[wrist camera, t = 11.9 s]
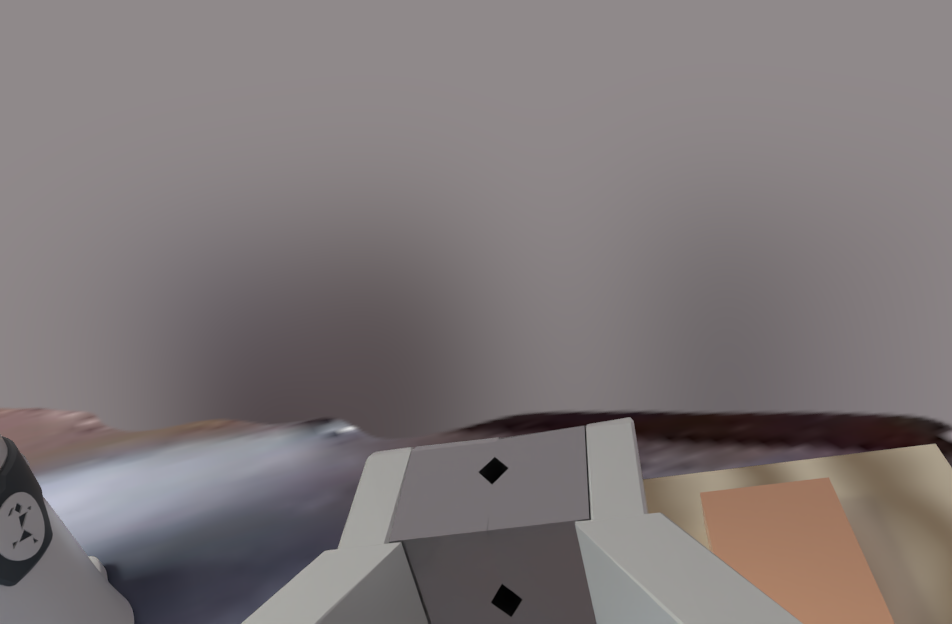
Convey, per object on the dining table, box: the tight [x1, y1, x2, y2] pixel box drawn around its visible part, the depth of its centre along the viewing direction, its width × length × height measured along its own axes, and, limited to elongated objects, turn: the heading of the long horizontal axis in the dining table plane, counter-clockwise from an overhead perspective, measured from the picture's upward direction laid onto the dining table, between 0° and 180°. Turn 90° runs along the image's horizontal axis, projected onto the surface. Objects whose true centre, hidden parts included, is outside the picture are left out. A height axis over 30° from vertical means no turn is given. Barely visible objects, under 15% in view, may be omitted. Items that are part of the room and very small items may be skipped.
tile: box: [700, 477, 895, 624], centre depth 41 cm, size 7×3×14 cm
